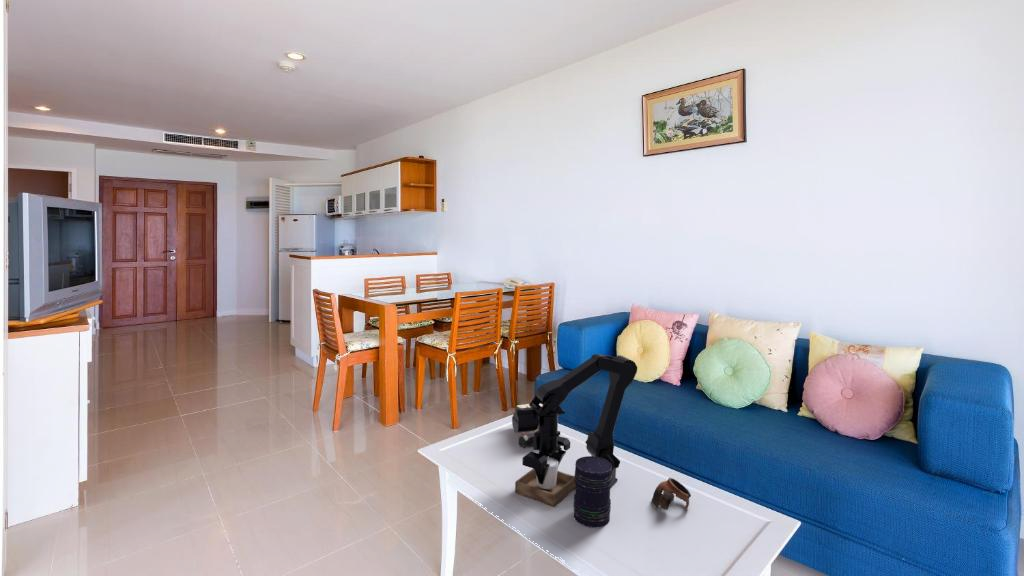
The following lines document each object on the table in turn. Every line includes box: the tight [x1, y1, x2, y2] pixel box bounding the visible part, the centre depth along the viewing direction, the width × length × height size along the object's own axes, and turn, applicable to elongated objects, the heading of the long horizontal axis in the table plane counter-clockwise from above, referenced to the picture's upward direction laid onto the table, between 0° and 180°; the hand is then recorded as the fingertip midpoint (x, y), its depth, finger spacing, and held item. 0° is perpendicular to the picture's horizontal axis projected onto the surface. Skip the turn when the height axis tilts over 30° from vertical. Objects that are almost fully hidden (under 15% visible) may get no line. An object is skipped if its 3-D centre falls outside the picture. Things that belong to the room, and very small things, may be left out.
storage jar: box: [573, 455, 612, 529], centre depth 133 cm, size 10×10×15 cm
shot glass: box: [536, 456, 559, 489], centre depth 146 cm, size 7×7×7 cm
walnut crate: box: [514, 468, 576, 508], centre depth 147 cm, size 13×13×4 cm
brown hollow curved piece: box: [651, 477, 692, 511], centre depth 139 cm, size 12×10×8 cm
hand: (546, 479), depth 147 cm, fingers closed on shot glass, 6 cm apart
